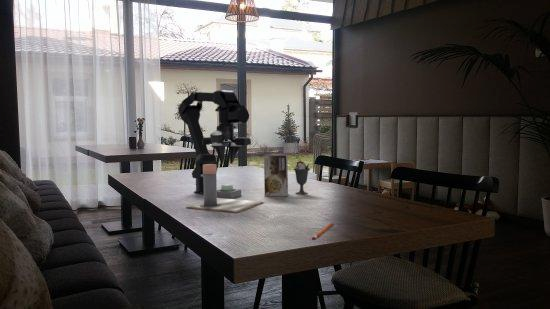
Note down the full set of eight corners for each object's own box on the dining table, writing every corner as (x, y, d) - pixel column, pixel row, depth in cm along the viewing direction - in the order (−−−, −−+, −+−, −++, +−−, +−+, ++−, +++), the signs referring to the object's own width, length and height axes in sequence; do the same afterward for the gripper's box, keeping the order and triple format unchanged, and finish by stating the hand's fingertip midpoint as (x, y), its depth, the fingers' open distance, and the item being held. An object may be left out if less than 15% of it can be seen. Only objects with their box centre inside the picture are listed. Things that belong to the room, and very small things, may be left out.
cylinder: (200, 205, 153) (199, 164, 152) (210, 203, 157) (209, 163, 156) (210, 207, 151) (209, 165, 150) (220, 205, 154) (219, 164, 153)
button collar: (213, 197, 174) (212, 191, 173) (223, 194, 181) (223, 188, 181) (230, 198, 170) (230, 192, 170) (241, 195, 177) (241, 189, 177)
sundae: (290, 193, 183) (290, 156, 182) (304, 191, 186) (304, 155, 185) (298, 195, 177) (297, 157, 176) (312, 194, 180) (312, 156, 179)
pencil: (311, 240, 113) (311, 237, 112) (332, 224, 130) (332, 221, 130) (314, 240, 112) (314, 237, 112) (335, 224, 129) (335, 221, 129)
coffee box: (288, 193, 181) (288, 153, 180) (287, 196, 175) (287, 155, 174) (265, 193, 182) (265, 153, 181) (263, 196, 176) (263, 155, 175)
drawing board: (185, 208, 153) (185, 206, 153) (216, 199, 170) (216, 197, 170) (236, 213, 144) (236, 210, 144) (263, 203, 162) (263, 201, 161)
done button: (219, 192, 174) (219, 185, 174) (225, 190, 178) (225, 184, 178) (229, 192, 172) (229, 186, 172) (234, 191, 176) (234, 184, 176)
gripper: (193, 123, 170) (194, 164, 171) (236, 123, 162) (237, 166, 163) (210, 123, 180) (210, 161, 181) (251, 123, 172) (251, 163, 173)
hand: (226, 163), depth 174 cm, fingers open, 4 cm apart
